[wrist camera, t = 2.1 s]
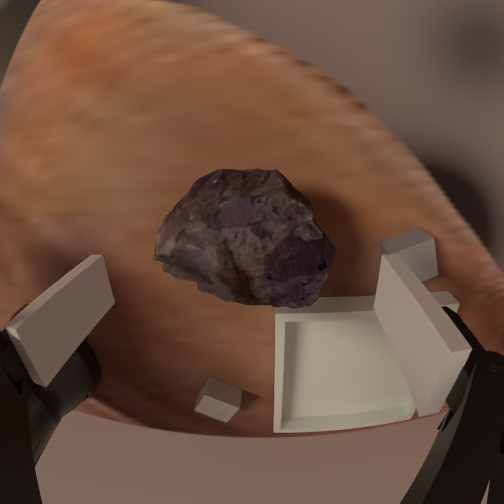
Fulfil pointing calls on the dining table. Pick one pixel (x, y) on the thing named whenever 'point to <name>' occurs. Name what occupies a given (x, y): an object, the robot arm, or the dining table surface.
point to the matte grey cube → (218, 400)
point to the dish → (338, 367)
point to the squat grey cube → (414, 252)
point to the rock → (247, 240)
